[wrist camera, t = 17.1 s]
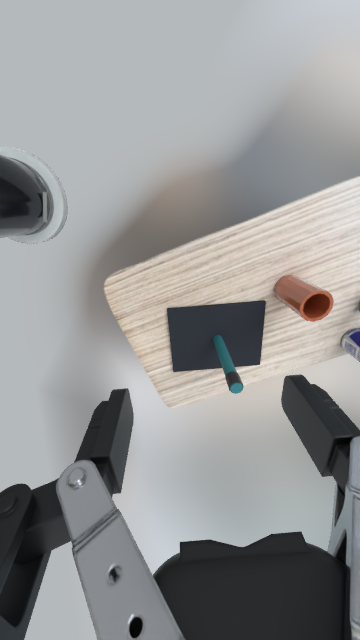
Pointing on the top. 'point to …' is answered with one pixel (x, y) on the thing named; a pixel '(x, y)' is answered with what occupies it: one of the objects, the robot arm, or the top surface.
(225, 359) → the marker
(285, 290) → the pen pot
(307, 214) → the top surface
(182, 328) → the desk mat
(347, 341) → the energy drink
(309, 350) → the top surface
